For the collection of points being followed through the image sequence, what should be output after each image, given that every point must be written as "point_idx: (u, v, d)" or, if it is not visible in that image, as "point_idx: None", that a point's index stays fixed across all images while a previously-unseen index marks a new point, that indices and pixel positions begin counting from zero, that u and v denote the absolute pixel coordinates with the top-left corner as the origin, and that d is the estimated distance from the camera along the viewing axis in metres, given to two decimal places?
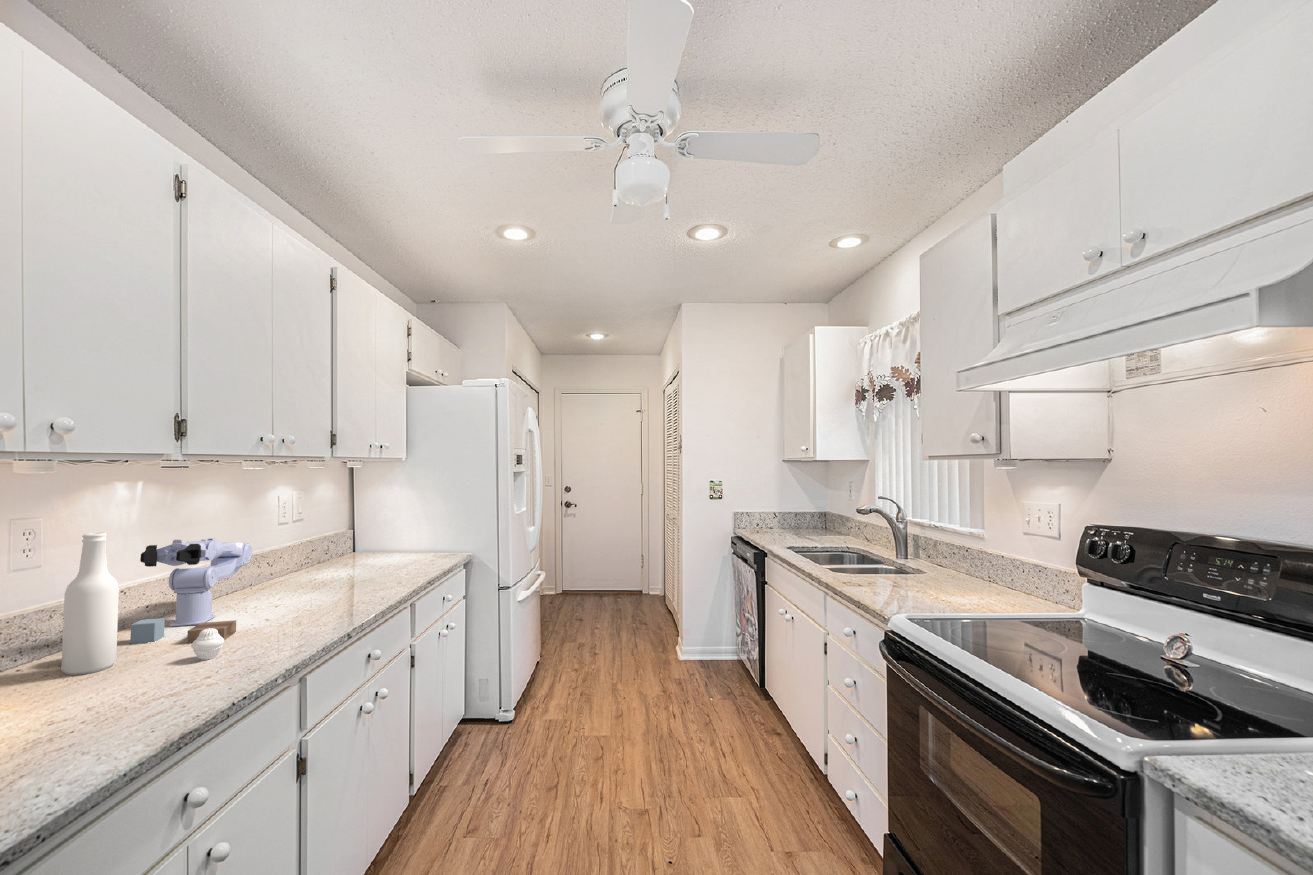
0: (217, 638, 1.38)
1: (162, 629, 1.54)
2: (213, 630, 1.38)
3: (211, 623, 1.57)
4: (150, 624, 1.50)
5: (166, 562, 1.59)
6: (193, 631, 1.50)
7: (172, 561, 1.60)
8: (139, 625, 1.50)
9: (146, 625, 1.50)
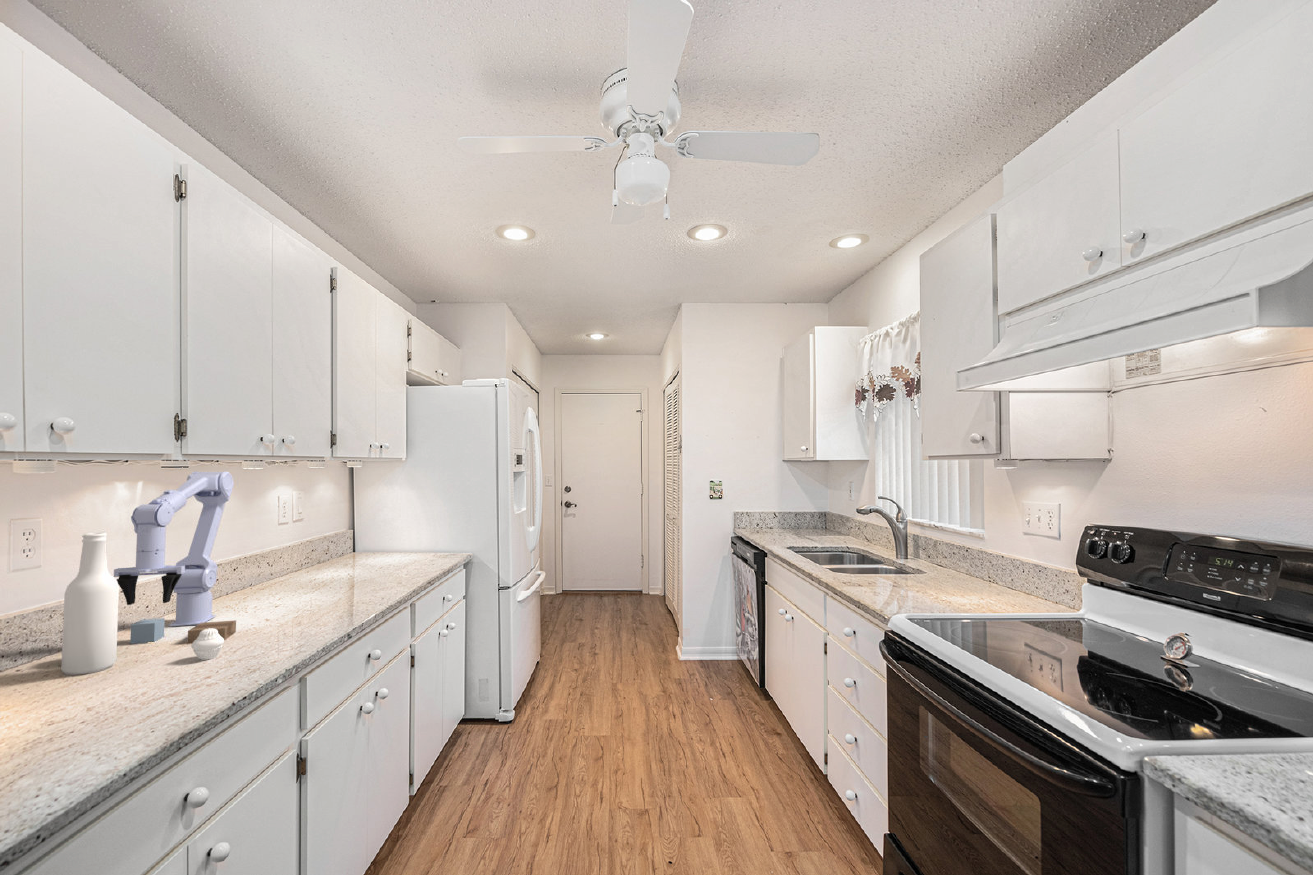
0: (217, 638, 1.38)
1: (162, 629, 1.54)
2: (213, 630, 1.38)
3: (211, 623, 1.57)
4: (150, 624, 1.50)
5: None
6: (193, 631, 1.50)
7: None
8: (139, 625, 1.50)
9: (146, 625, 1.50)
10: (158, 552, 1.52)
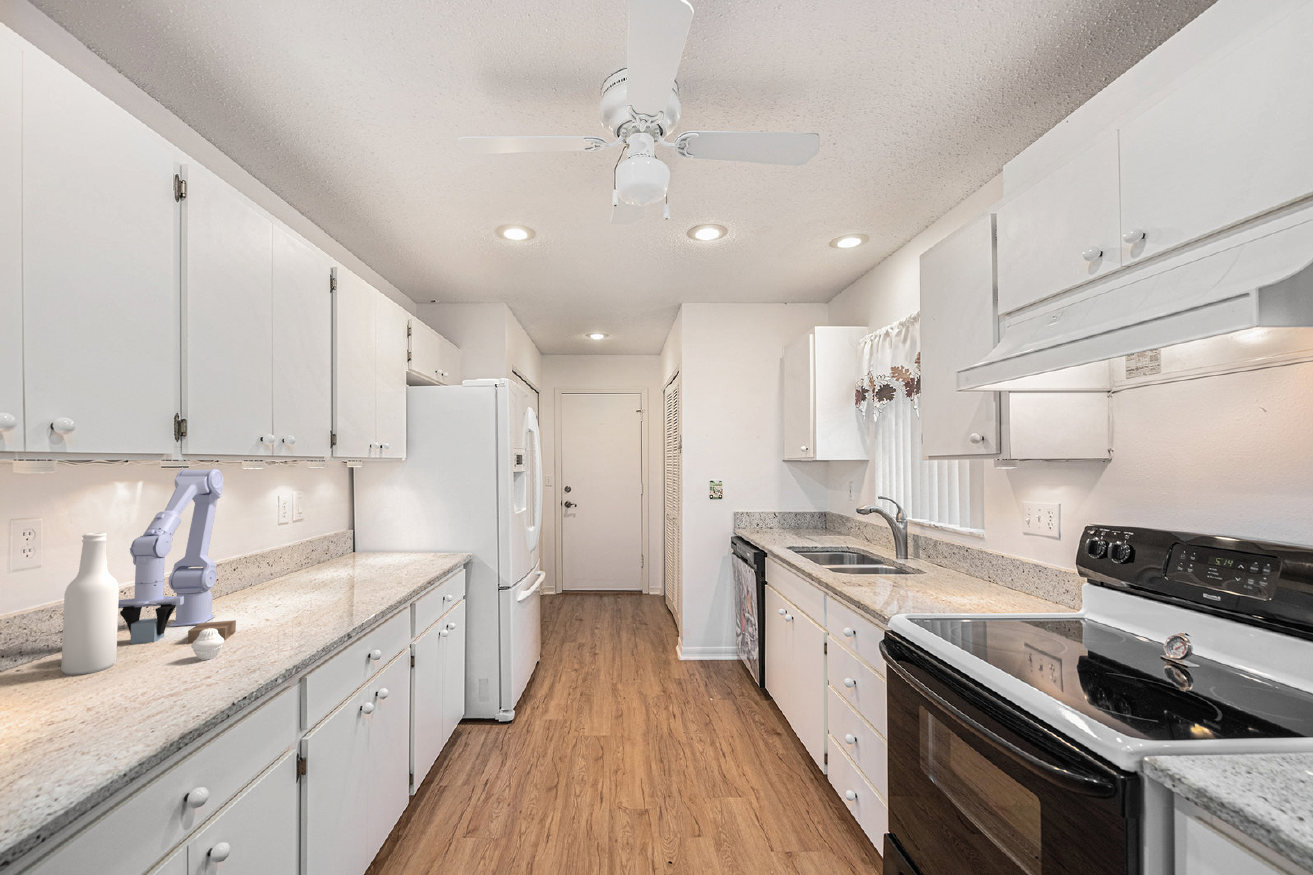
0: (217, 638, 1.38)
1: None
2: (213, 630, 1.38)
3: (211, 623, 1.57)
4: (150, 624, 1.50)
5: None
6: (194, 631, 1.50)
7: None
8: (139, 625, 1.50)
9: (146, 625, 1.50)
10: (157, 584, 1.52)
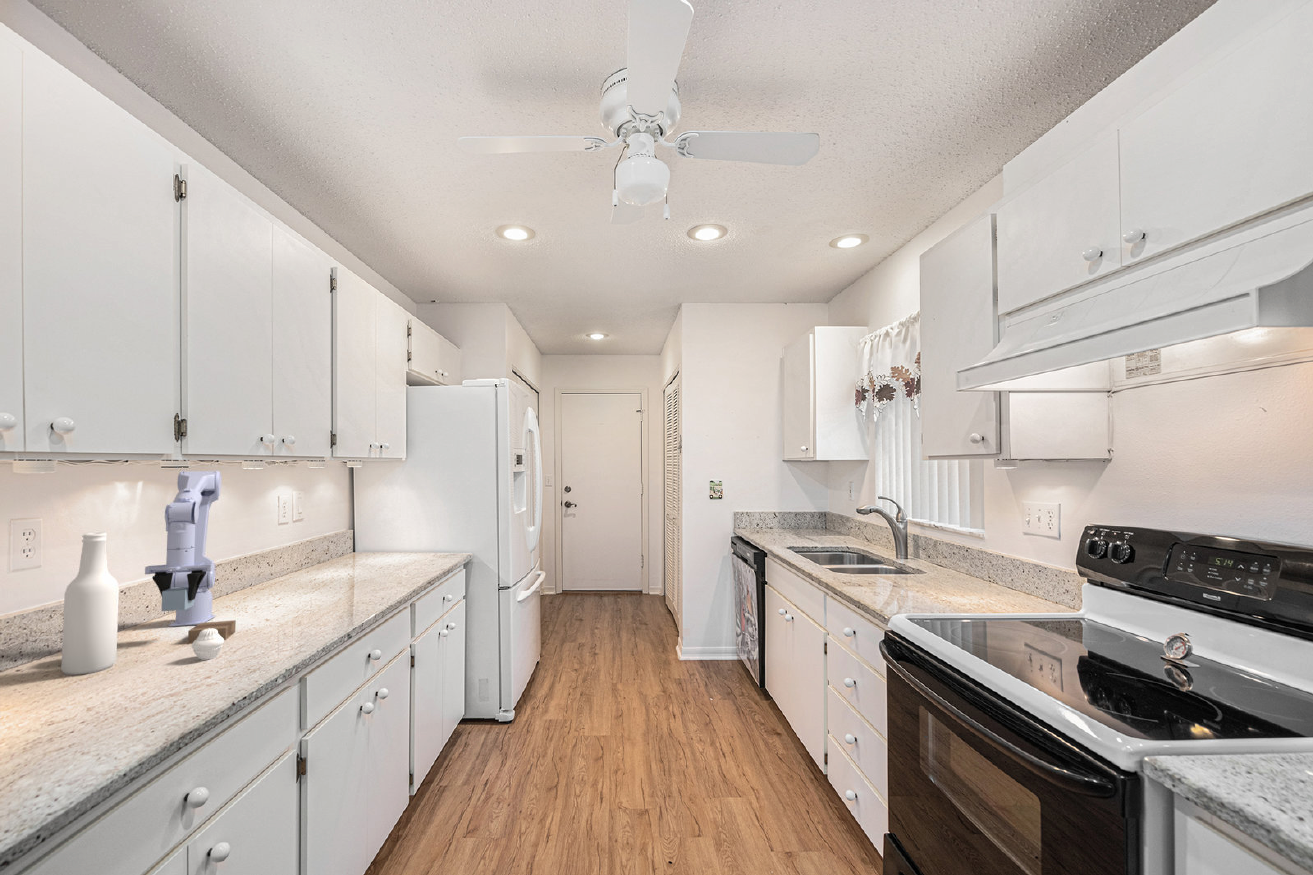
0: (217, 638, 1.38)
1: None
2: (213, 630, 1.38)
3: (210, 623, 1.56)
4: (181, 591, 1.51)
5: None
6: (194, 631, 1.50)
7: None
8: (170, 592, 1.51)
9: (176, 592, 1.51)
10: (188, 550, 1.53)
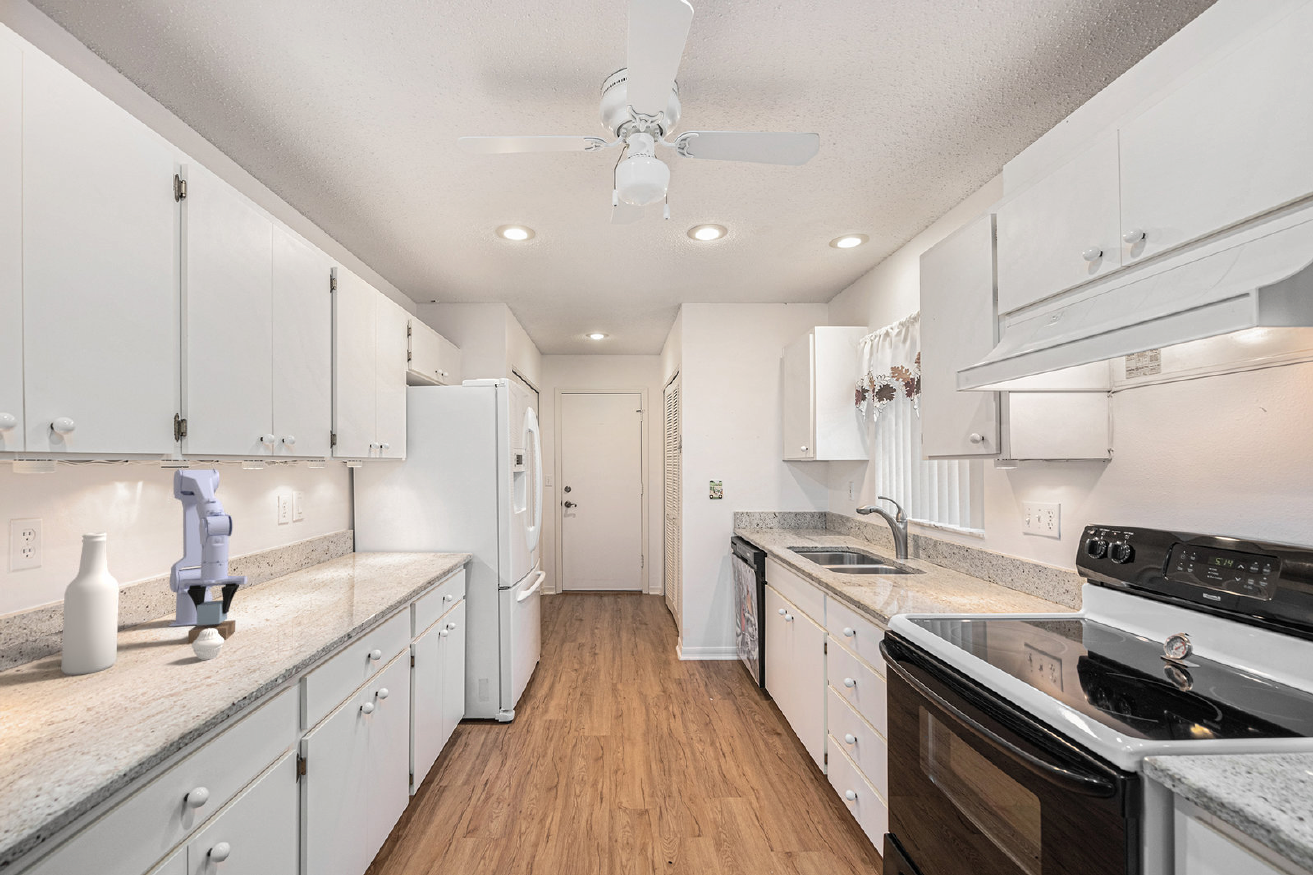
0: (217, 638, 1.38)
1: None
2: (213, 630, 1.38)
3: None
4: (215, 605, 1.53)
5: None
6: (194, 631, 1.50)
7: None
8: (205, 606, 1.52)
9: (211, 606, 1.52)
10: (222, 563, 1.55)
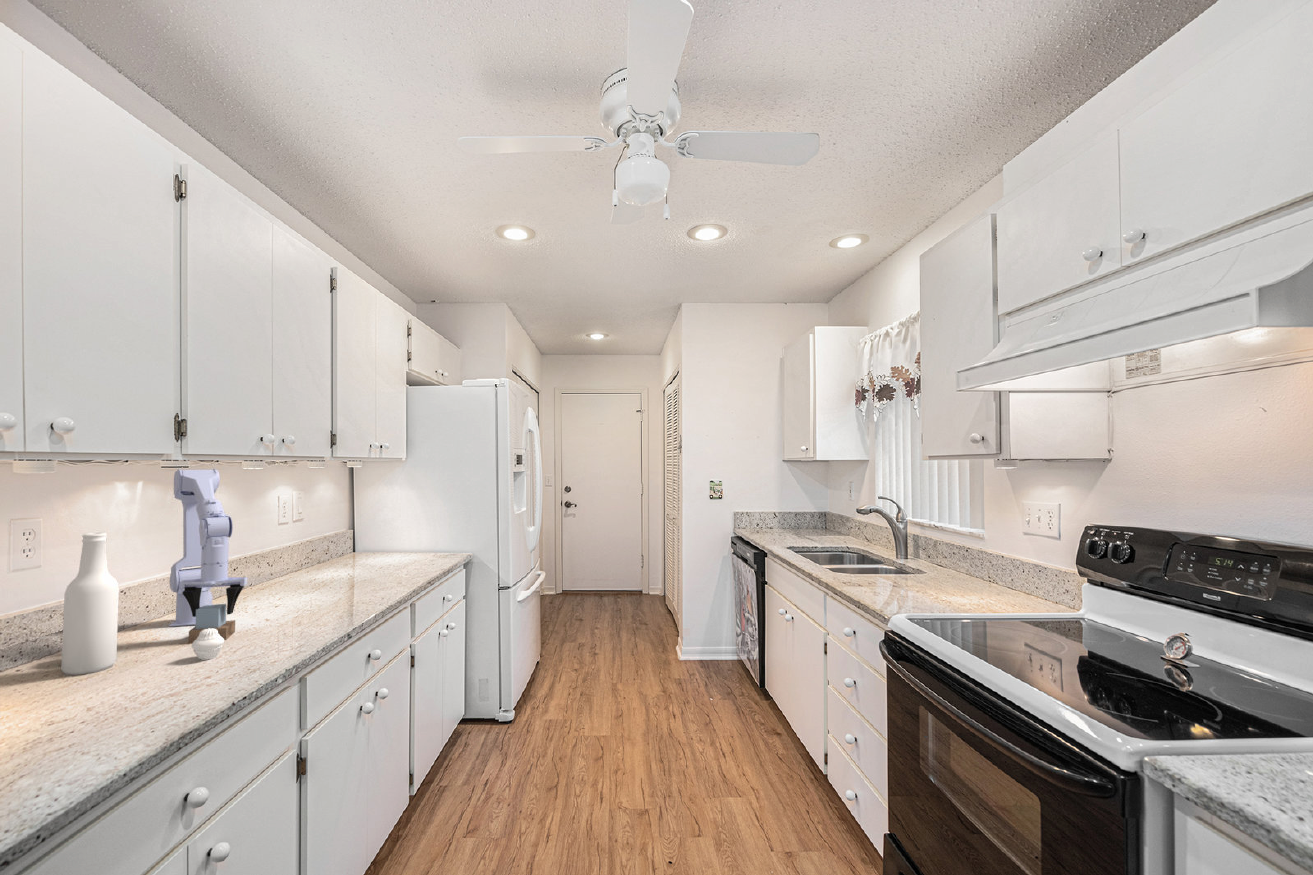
0: (217, 638, 1.38)
1: (224, 614, 1.56)
2: (213, 630, 1.38)
3: None
4: (214, 609, 1.52)
5: None
6: (194, 631, 1.50)
7: None
8: (204, 610, 1.52)
9: (210, 610, 1.52)
10: (222, 564, 1.55)
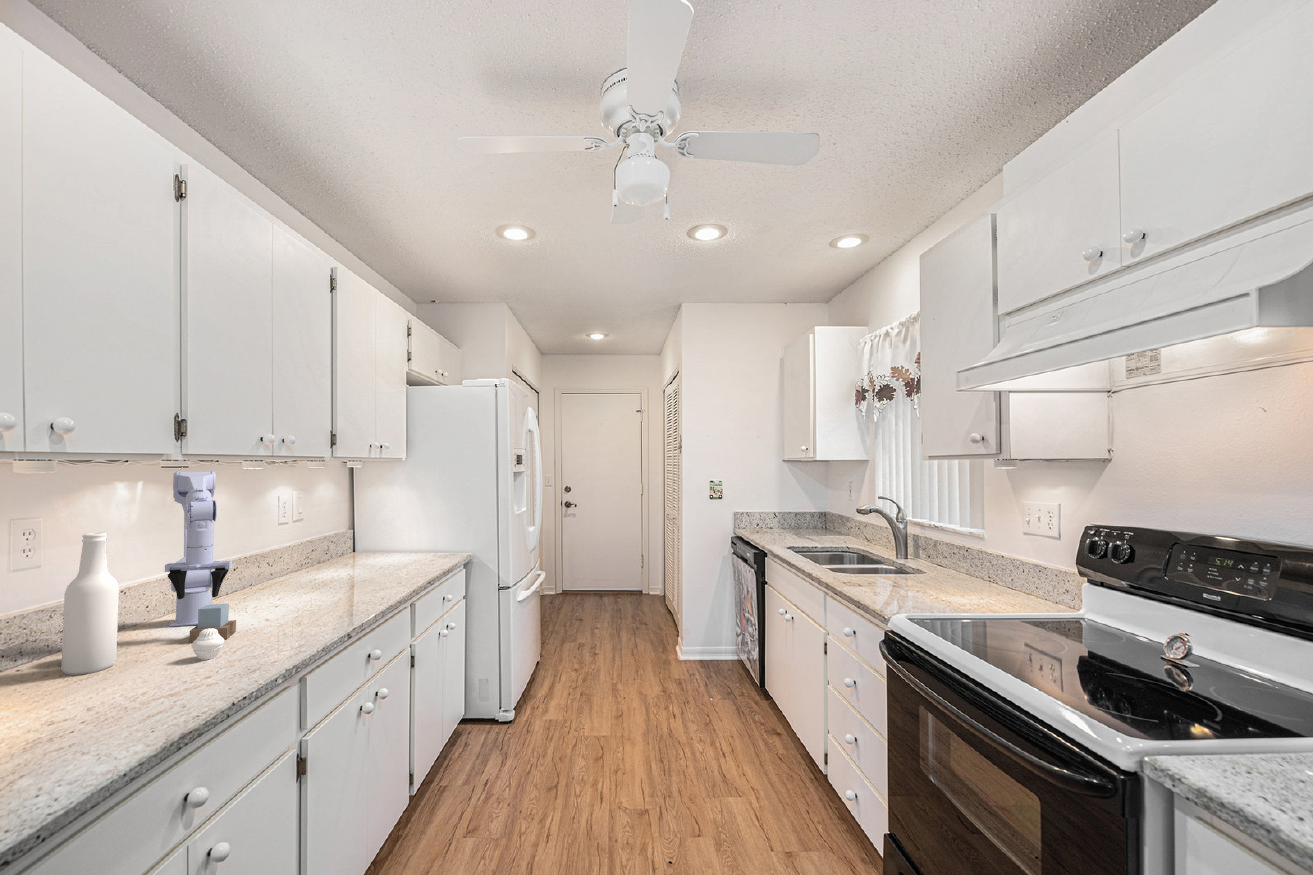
0: (217, 638, 1.38)
1: (227, 614, 1.57)
2: (213, 630, 1.38)
3: None
4: (217, 609, 1.53)
5: None
6: (195, 631, 1.50)
7: None
8: (206, 610, 1.52)
9: (212, 610, 1.53)
10: (207, 548, 1.56)
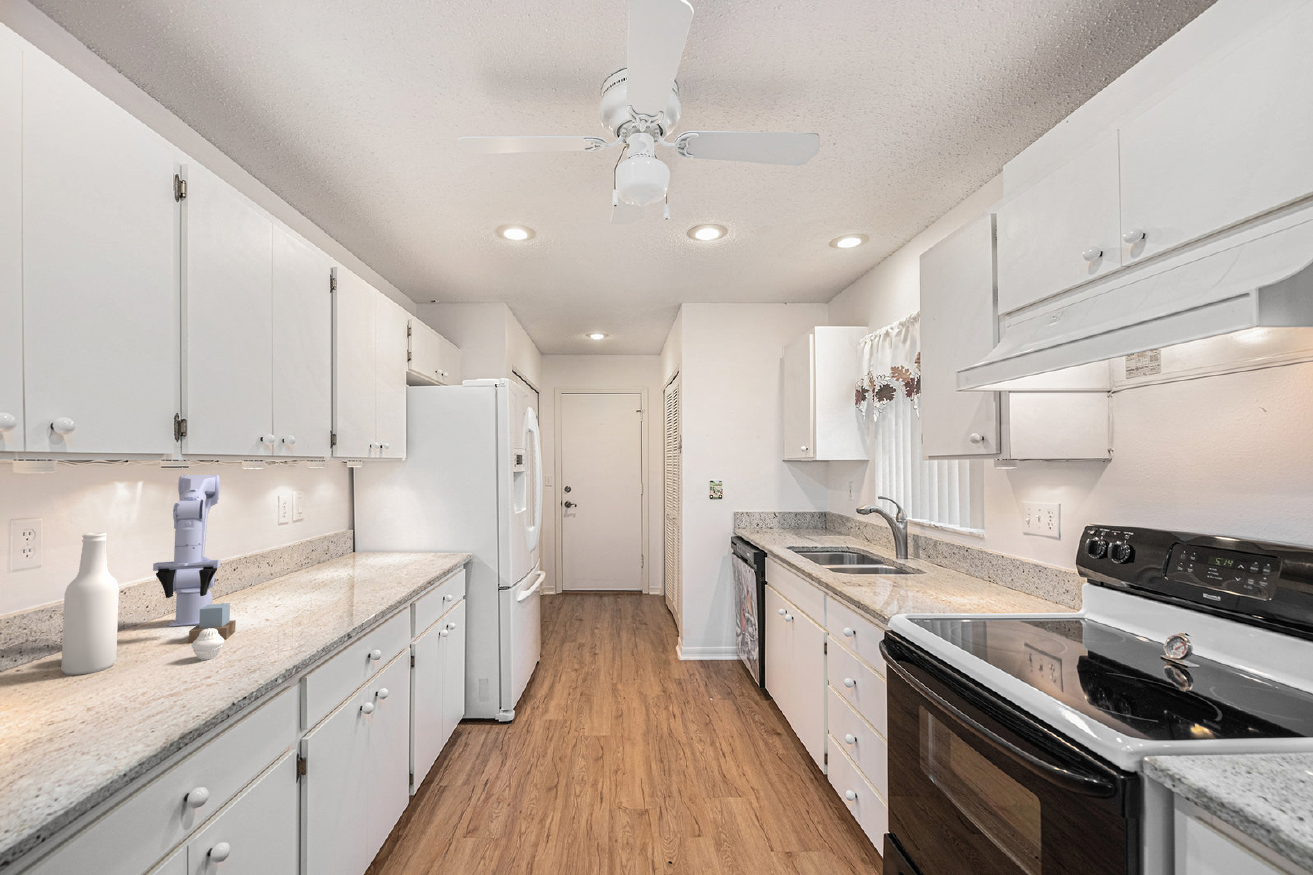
0: (217, 638, 1.38)
1: (228, 614, 1.57)
2: (213, 630, 1.38)
3: None
4: (218, 609, 1.53)
5: None
6: (195, 631, 1.50)
7: None
8: (207, 610, 1.53)
9: (214, 610, 1.53)
10: (195, 547, 1.57)
